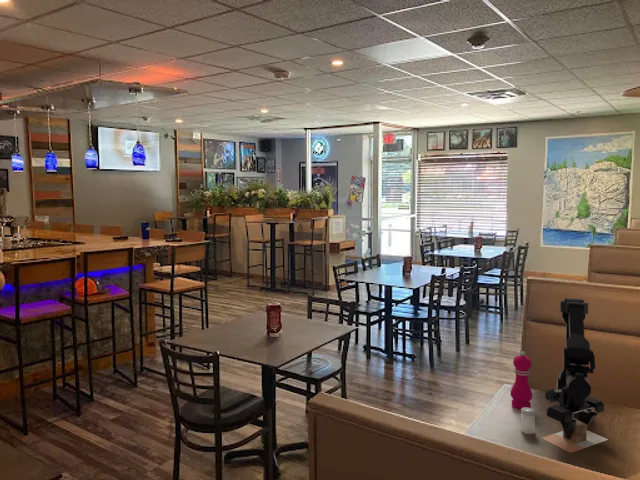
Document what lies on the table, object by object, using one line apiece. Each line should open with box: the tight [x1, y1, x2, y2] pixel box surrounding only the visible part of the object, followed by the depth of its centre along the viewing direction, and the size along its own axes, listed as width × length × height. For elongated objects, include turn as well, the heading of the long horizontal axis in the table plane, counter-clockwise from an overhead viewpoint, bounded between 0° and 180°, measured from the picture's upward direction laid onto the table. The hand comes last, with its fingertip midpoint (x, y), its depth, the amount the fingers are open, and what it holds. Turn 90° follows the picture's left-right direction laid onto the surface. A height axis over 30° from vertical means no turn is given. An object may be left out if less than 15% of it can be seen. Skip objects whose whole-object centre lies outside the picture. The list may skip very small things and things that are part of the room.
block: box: [562, 417, 588, 444], centre depth 150 cm, size 4×4×5 cm
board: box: [541, 429, 609, 454], centre depth 150 cm, size 17×10×1 cm, turn 117°
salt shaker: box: [520, 407, 536, 435], centre depth 155 cm, size 4×4×8 cm
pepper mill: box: [510, 350, 533, 411], centre depth 176 cm, size 7×7×20 cm
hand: (574, 436), depth 150 cm, fingers open, 6 cm apart
